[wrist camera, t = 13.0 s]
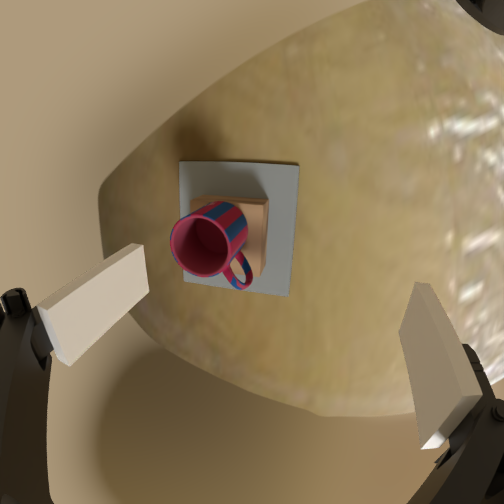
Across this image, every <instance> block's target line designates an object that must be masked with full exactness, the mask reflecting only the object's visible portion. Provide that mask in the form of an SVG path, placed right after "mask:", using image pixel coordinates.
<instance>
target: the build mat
mask: <svg viewBox="0 0 504 504" xmlns="http://www.w3.org/2000/svg"><path fill="white" fill-rule="evenodd" d="M298 180H299V166H295V165H282V164H267V163H248V162H216V161H180V162H179V186H180V219H181V218H183V217H185V216H187V215H188V214H190V200H192V199H194V198H196V197H199V196H201V195H217V196H233V197H247V198H260V199H269V213H268V232H267V251H266V265H265V267H264V269H263V271H262V274H261V276H260V277H254V276H253V281H252V283H251V285H250V286H249V287H248V288H246V289H243V291H250V292H257V293H264V294H272V295H279V296H287V297H288V296H289V287H290V277H291V267H292V257H293V246H294V234H295V222H296V209H297V195H298ZM183 275H184V281H186V282H192V283H198V284H204V285H210V286H217V287H223V288H230V289H236V288H235V287H233V286H232V285H231V284H230V283H229V281H228V280H227V279H226V277H225V276H224V274H223V273H222V272H221V273H219V274H218V275H216V276H213V277H197V276H195V275H192V274H190V273H188V272H187V271H185V270H184V269H183ZM235 276H236V277H237V278H238V279H239V280H240V281H241V282H242V283H245V281H246V276H245V275H239V274H235ZM236 290H238V289H236Z"/></svg>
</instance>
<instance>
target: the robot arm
mask: <svg viewBox="0 0 504 504" xmlns="http://www.w3.org/2000/svg"><path fill="white" fill-rule="evenodd" d="M457 1H458V3H459V4H460V5H461V6H462V7H463V8H464V9H465V10H466V11H467V12H468V13H469V14H470V15H471V16H472V17H473V18H474V19H475V20H477V21H478V22H479V23H480V24H482V25H483V26H485V27H486V28H488V29H489V30H491V31H493V32H495V33H497V34H500V35H504V0H457ZM147 293H149V287H148V280H147V273H146V265H145V257H144V248H143V245H140V244H133V243H131V244H130V245H128V246H126V247H125V248H123V249H121V250H120V251H118V252H116V253H115V254H113V255H112V256H110V257H108V258H107V259H105V260H104V261H102V262H100V263H99V264H97V265H96V266H94V267H92V268H91V269H89V270H88V271H86V272H85V273H83V274H82V275H80V276H79V277H77V278H75V279H74V280H72V281H71V282H69V283H68V284H66V285H65V286H64V287H62V288H61V289H59V290H58V291H56V292H55V293H53V294H52V295H50V296H49V297H47V298H46V299H44V300H43V301H42V302H40V303H39V304H37V306H35V307H34V308H32V309H31V306H30V303H29V300H28V297H27V294H26V291H25V290H24V289H23V288H14V289H11V290H9V291H7V292H5V293H4V294H3V295H2V296H1V297H0V298H1V301H2V304H3V306H4V309H5V312H4V311H3V308H2V306H1V304H0V504H54V503H53V501H52V499H51V497H50V493H49V482H48V470H47V448H46V447H47V446H46V445H47V442H46V433H47V404H48V391H49V381H50V372H51V364H52V357H51V355H50V352H51V351H52V350H54V351H55V353H56V355H57V358H58V360H59V361H61V362H63V363H65V364H66V365H68V366H71V365H72V364H73V363H74V362H75V361H76V360H77V359H78V358H79V357H80V356H81V355H82V354H83V353H84V352H85V351H86V350H87V349H88V348H89V347H90V346H91V345H93V344H94V343H95V342H96V341H97V340H98V339H99V338H100V337H101V336H102V335H103V334H104V333H105V332H106V331H107V330H108V329H109V328H110V327H111V326H112V325H114V324H115V323H116V322H117V321H118V320H119V319H120V318H121V317H122V316H123V315H124V314H126V313H127V312H128V311H129V310H130V309H131V308H132V307H133V306H134V305H135V304H136V303H137V302H139V301H140V300H141V299H142V298H143V297H144V296H145V295H146V294H147ZM399 336H400V340H401V344H402V348H403V352H404V356H405V360H406V365H407V369H408V374H409V379H410V384H411V389H412V394H413V400H414V405H415V411H416V418H417V424H418V432H419V440H420V448H421V449H428V448H439V447H440V446H441V445H442V444H443V443H444V442H445V441H446V440H447V439H448V438H449V444H450V447H449V448H448V449H447V450H446V451H445V453H443V454H442V455H441V456H440V458H438V459H437V460H436V461H435V463H437V465H436V466H435V468H434V469H433V471H432V472H431V473H430V475H429V476H428V478H427V479H426V480H425V482H424V483H423V484H422V485H421V487H420V488H419V490H418V491H417V492H416V493H415V494H414V496H413V497H412V498H411V499H410V501H409V502H408V503H407V504H504V401H503V400H501V399H496V398H495V395H494V393H493V390H492V388H491V385H490V383H489V381H488V378H487V376H486V374H485V372H483V371H484V369H483V367H482V365H481V364H480V361H479V358H478V356H477V354H476V352H475V351H474V350H473V349H472V348H471V347H470V346H469V345H468V344H461V342H460V340H459V338H458V336H457V334H456V332H455V330H454V328H453V326H452V324H451V322H450V320H449V318H448V316H447V314H446V312H445V310H444V308H443V307H442V305H441V303H440V301H439V299H438V297H437V296H436V294H435V292H434V290H433V289H432V287H431V285H430V284H428V283H420V282H415V284H414V287H413V291H412V294H411V297H410V300H409V303H408V306H407V309H406V312H405V315H404V318H403V321H402V324H401V327H400V329H399Z"/></svg>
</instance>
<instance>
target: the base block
mask: <svg viewBox="0 0 504 504" xmlns="http://www.w3.org/2000/svg"><path fill="white" fill-rule="evenodd" d="M214 201H225V202H229V203H231V204H233V205H234V206H236V207H237V208H238V209H239V210H240V211H241V212H242V213H243V214H244V216H245V218H246V220H247V224H248V236H247V240H246V242H245V244H244V245H243V246H242V248H241V252H242V253H243V254H244V256H245V258H246V259H247V261H248V263H249V265H250V267H251V269H252V273H253V276H254V277H260V276H261V274H262V271H263V269H264V267H265V265H266V251H267V232H268V213H269V199H260V198H247V197H233V196H217V195H201V196H199V197H196V198H194V199H192V200H190V213H192V212H194V211H196V210H197V209H199V208H201V207H203V206H205V205H207V204H209V203H211V202H214ZM230 266H231V269H232V271H233V273H234V274H239V275H245V273H244V271H243V269H242V267H241V265H240V264H239V262H238V261H237V260H236V258H235V257H234V259H233V260H232V261H231V263H230Z"/></svg>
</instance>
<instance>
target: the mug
mask: <svg viewBox="0 0 504 504" xmlns="http://www.w3.org/2000/svg"><path fill="white" fill-rule="evenodd" d="M247 236H248V224H247V220H246V218H245V216H244V214H243V213H242V212H241V211H240V210H239V209H238V208H237V207H236V206H234V205H233V204H231V203H229V202H225V201H214V202H211V203H209V204H207V205H205V206H203V207H201V208H199V209H197V210H196V211H194V212H192V213H190V214H188V215H187V216H185V217H183V218H181V219H180V220H179V221H178V222H177V223H176V224H175V226H174V227H173V229H172V232H171V236H170V246H171V251H172V254H173V256H174V258H175V260H176V261H177V263H178V264H179V265H180V266H181V267H182V268H183V269H184V270H185V271H187V272H188V273H190V274H192V275H195V276H197V277H213V276H216V275H218V274H219V273H221V272H222V273H223V274H224V276H225V277H226V279H227V280H228V281H229V283H230V284H231V285H232V286H233V287H235V288H236V289H238V290H243V289H246V288H248V287H249V286H250V285H251V283H252V281H253V273H252V269H251V267H250V265H249V263H248V261H247V259H246V258H245V256H244V254H243V253H242V252H241V248H242V246H243V245H244V244H245V242H246V240H247ZM234 257H235V258H236V260H237V261H238V262H239V264H240V265H241V267H242V269H243V271H244V273H245V276H246V281H245V283H242V282H241V281H240V280H239V279H238V278H237V277H236V276H235V274H234V273H233V271H232V269H231V266H230V263H231V261H232V260H233V259H234Z"/></svg>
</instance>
